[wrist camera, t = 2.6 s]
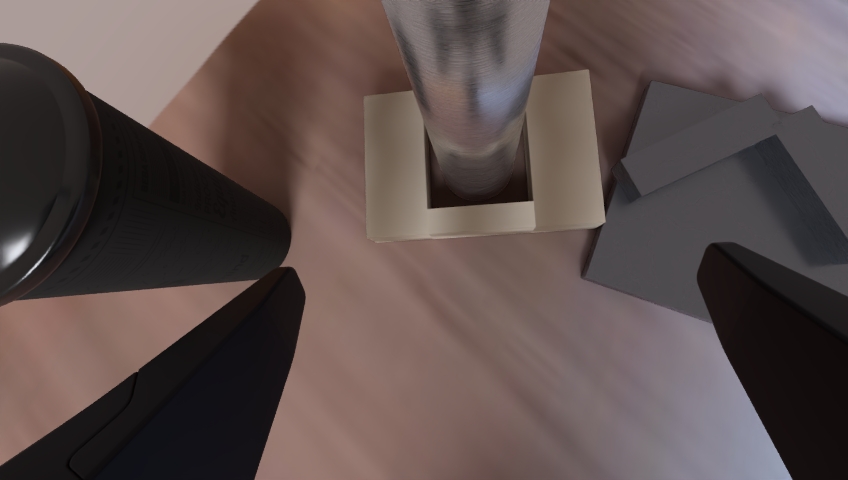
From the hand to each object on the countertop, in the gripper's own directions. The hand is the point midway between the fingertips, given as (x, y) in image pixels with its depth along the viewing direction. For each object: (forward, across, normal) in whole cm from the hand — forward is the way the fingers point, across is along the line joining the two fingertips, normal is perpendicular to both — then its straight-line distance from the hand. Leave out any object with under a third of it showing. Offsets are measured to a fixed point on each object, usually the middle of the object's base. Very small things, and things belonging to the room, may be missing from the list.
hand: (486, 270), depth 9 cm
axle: (+14, 0, +4) cm, 15 cm away
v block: (+11, -12, +7) cm, 18 cm away
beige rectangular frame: (+14, 0, +4) cm, 15 cm away
